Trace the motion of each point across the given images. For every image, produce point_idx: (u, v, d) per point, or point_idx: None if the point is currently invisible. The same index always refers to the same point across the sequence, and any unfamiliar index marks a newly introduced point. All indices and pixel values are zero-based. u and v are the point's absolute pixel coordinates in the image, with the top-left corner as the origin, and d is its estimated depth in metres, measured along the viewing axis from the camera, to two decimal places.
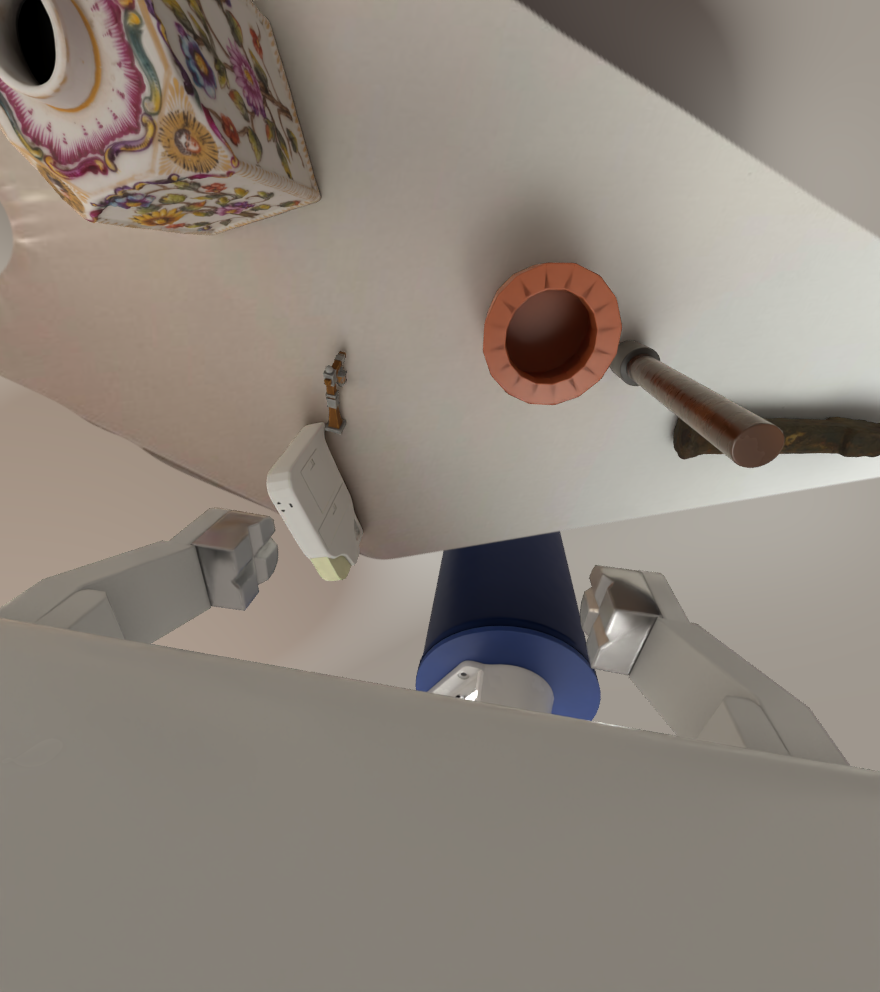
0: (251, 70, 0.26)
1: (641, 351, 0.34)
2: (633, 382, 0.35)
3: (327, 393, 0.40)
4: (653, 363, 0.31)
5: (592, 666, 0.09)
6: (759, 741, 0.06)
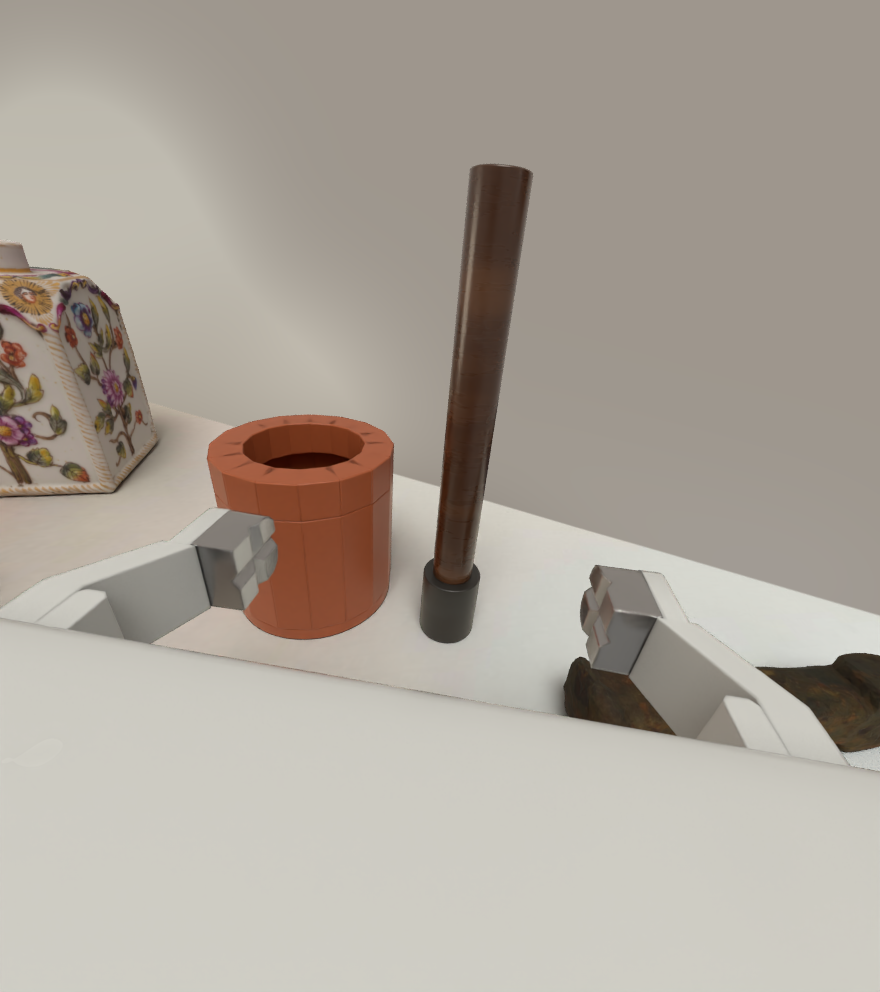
0: (121, 394, 0.36)
1: None
2: (448, 587, 0.22)
3: None
4: None
5: (593, 667, 0.09)
6: (759, 741, 0.06)
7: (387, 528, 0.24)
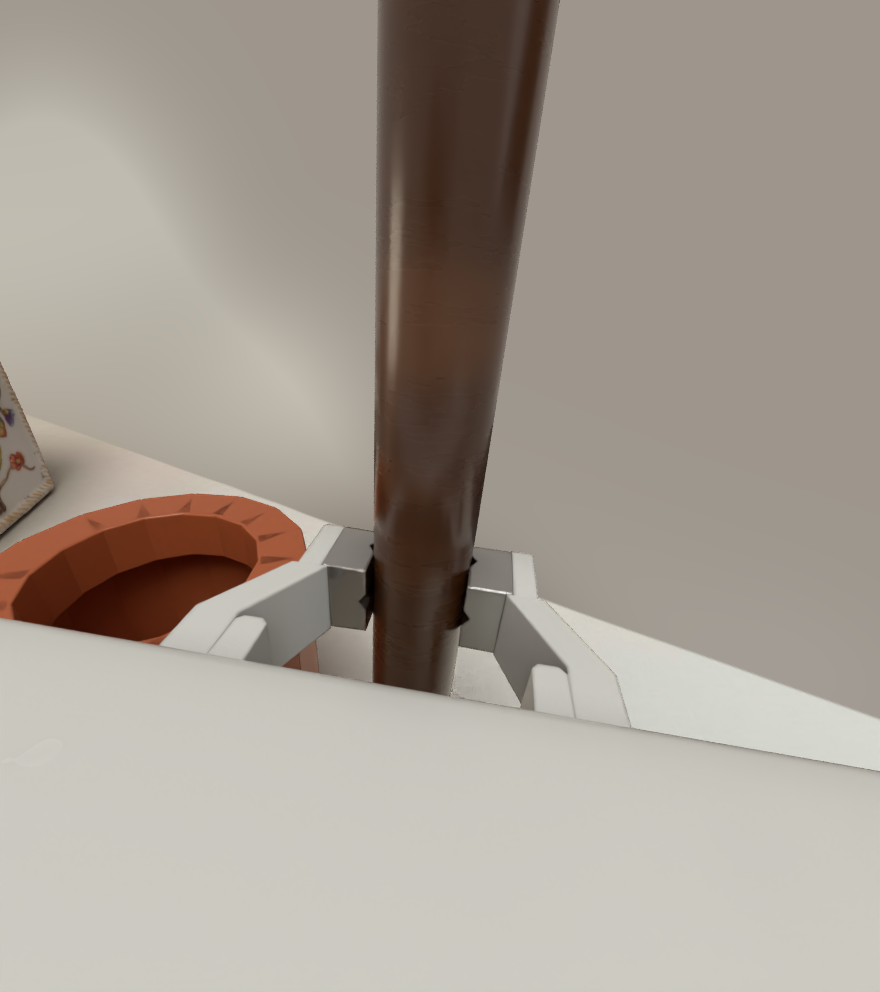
0: None
1: None
2: None
3: None
4: None
5: (460, 645, 0.09)
6: (550, 705, 0.06)
7: None
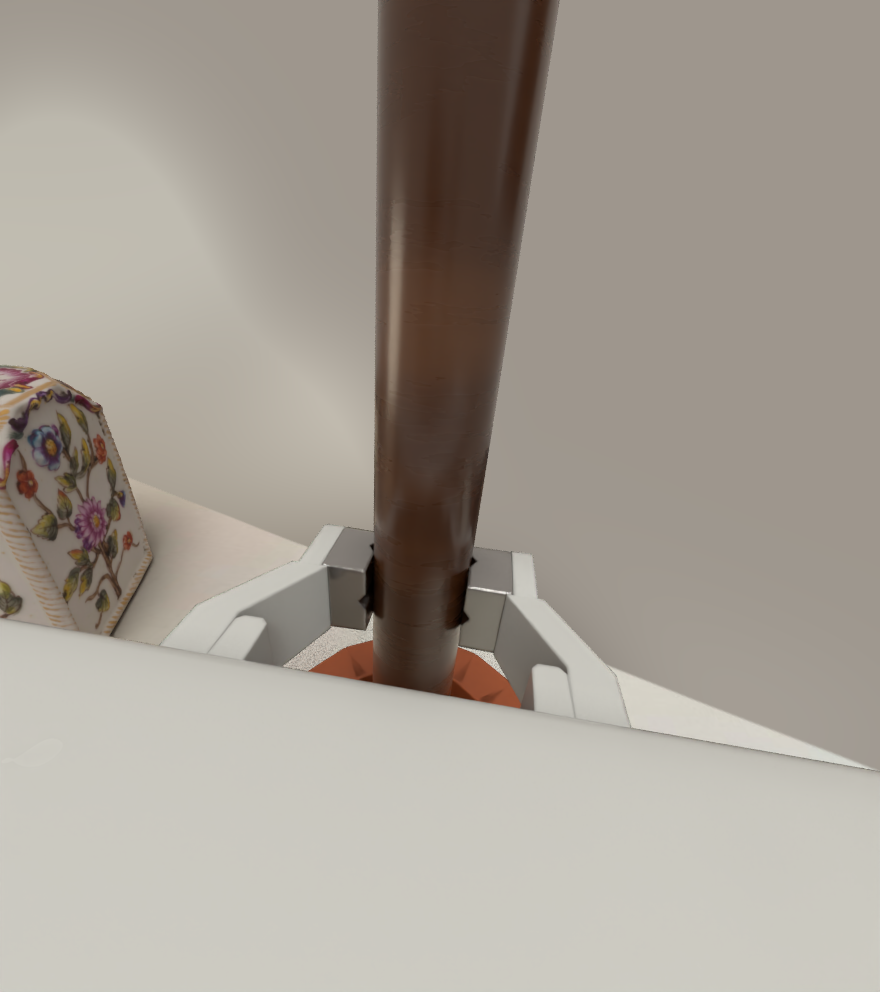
0: (104, 526, 0.27)
1: None
2: None
3: None
4: None
5: (460, 645, 0.09)
6: (550, 705, 0.06)
7: None
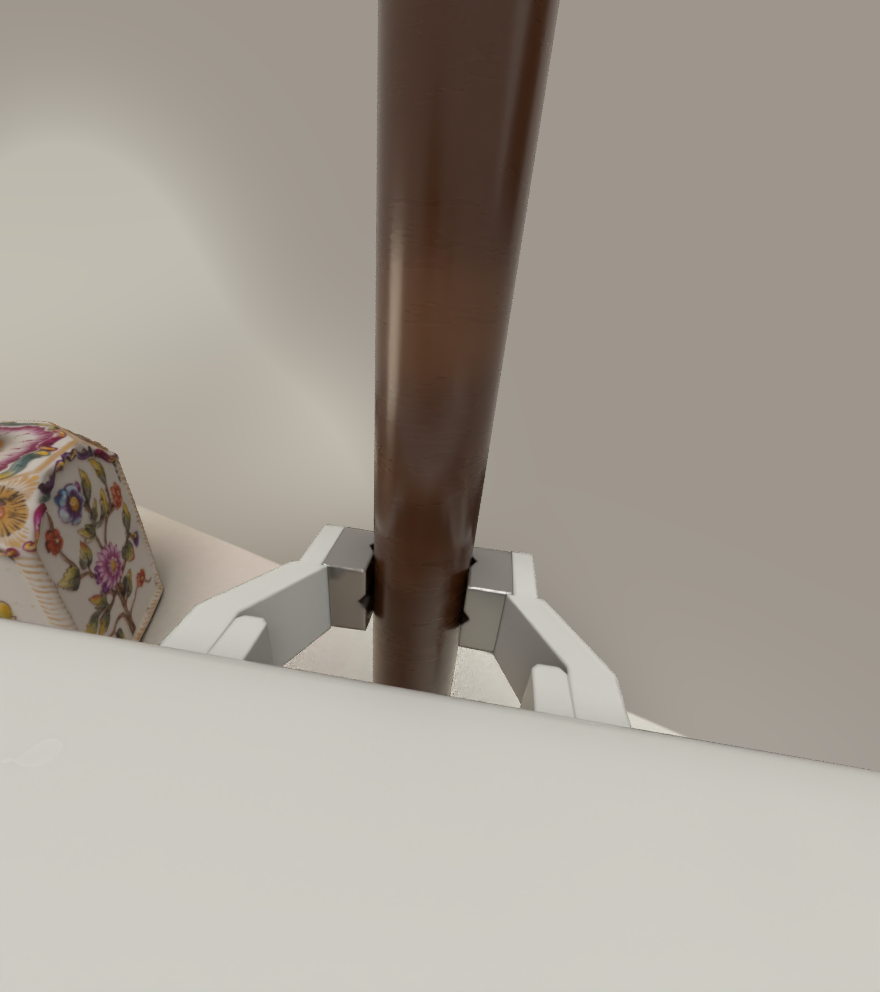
0: (120, 569, 0.29)
1: None
2: None
3: None
4: None
5: (460, 645, 0.09)
6: (550, 705, 0.06)
7: None
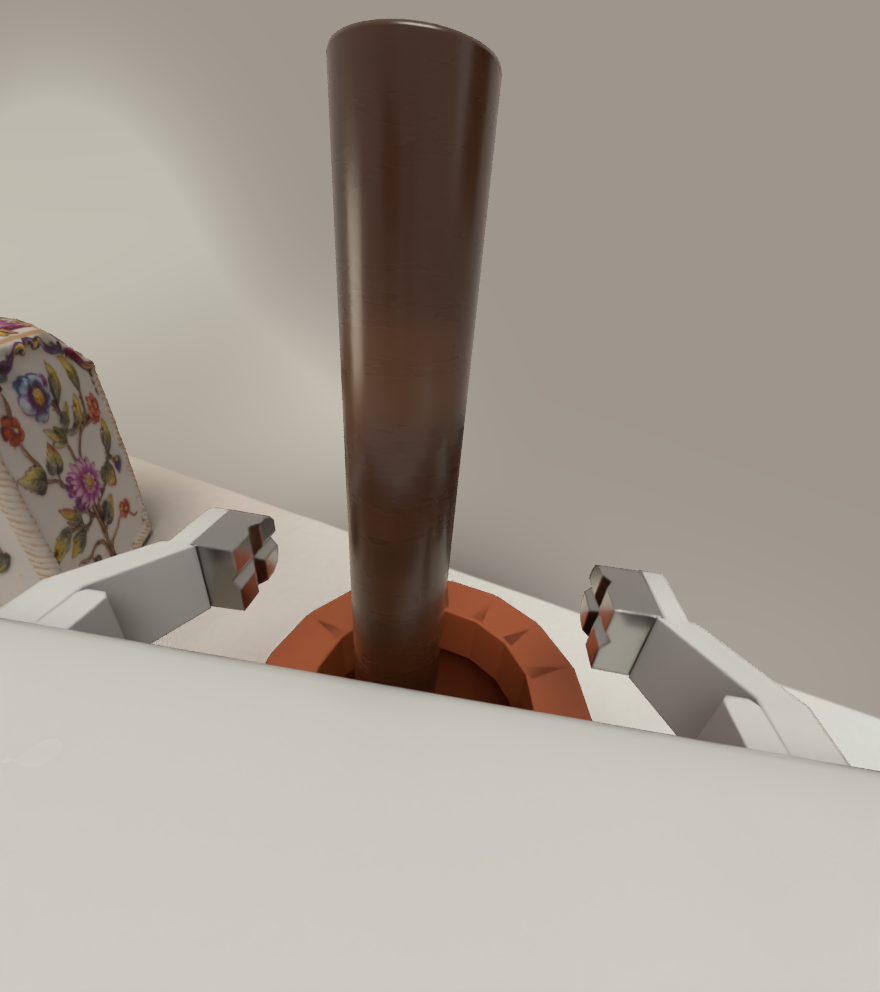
0: (98, 489, 0.26)
1: None
2: None
3: None
4: None
5: (593, 666, 0.09)
6: (759, 741, 0.06)
7: None
